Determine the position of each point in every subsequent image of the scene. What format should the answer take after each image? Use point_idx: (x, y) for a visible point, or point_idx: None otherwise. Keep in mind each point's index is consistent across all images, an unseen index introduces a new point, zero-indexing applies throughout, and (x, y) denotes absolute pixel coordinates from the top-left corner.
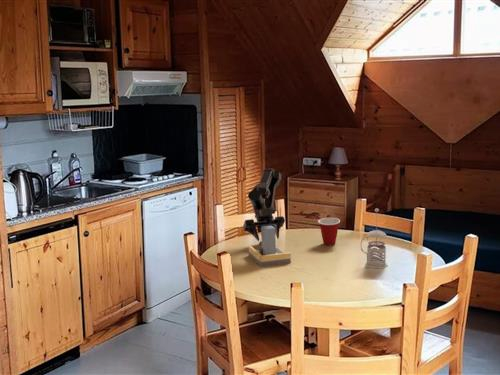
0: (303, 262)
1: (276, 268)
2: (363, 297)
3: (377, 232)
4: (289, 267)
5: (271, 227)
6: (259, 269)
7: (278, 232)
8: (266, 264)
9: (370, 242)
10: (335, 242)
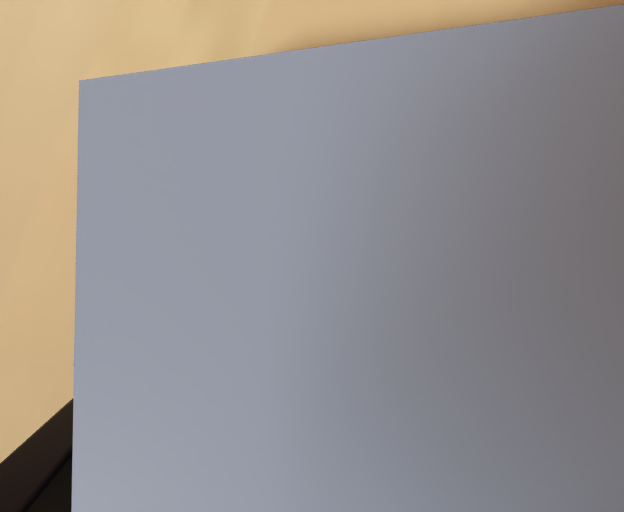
0: (68, 132)
1: (389, 3)
2: None
3: None
4: (251, 8)
5: (218, 250)
6: (587, 7)
7: (34, 447)
8: None
9: None
10: None
